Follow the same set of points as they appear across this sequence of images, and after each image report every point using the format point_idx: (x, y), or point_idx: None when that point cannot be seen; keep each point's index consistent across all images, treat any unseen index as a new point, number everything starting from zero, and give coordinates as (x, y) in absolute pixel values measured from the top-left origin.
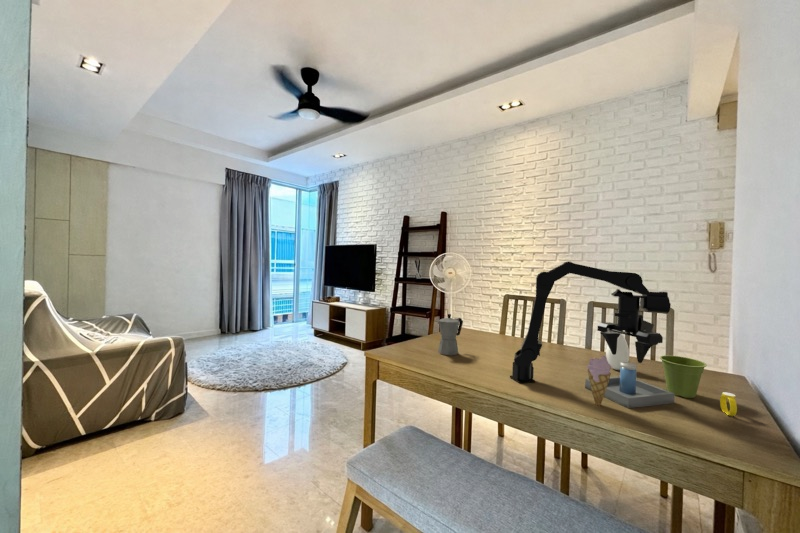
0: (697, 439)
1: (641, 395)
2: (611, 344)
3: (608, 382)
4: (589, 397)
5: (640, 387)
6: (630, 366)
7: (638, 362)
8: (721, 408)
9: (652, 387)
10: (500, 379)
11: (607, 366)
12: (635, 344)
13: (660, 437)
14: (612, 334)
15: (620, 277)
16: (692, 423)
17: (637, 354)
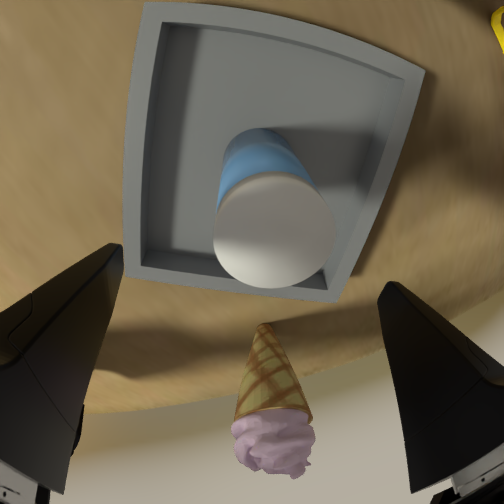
0: (465, 285)
1: (355, 236)
2: (86, 368)
3: (301, 388)
4: (214, 309)
5: (252, 35)
6: (311, 272)
7: (380, 302)
8: (492, 19)
9: (329, 51)
10: None
11: (310, 447)
12: (409, 468)
13: None
14: (29, 467)
15: None
16: (464, 211)
17: (399, 377)
